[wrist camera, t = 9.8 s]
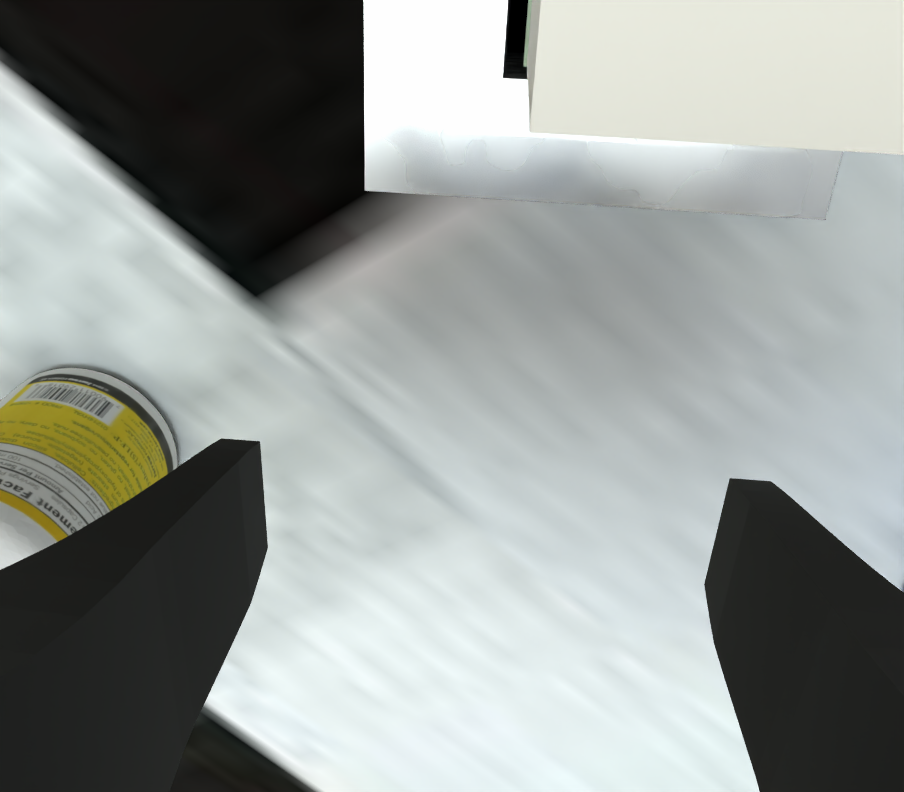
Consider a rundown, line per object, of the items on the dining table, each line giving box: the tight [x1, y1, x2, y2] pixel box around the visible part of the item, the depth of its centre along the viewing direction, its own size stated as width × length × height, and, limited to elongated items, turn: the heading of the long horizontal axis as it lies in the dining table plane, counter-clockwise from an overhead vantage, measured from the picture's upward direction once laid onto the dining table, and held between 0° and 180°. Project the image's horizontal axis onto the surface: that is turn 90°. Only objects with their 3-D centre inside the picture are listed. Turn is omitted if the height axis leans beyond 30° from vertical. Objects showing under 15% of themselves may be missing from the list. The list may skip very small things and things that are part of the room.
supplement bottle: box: [0, 368, 177, 570], centre depth 21 cm, size 5×5×10 cm
